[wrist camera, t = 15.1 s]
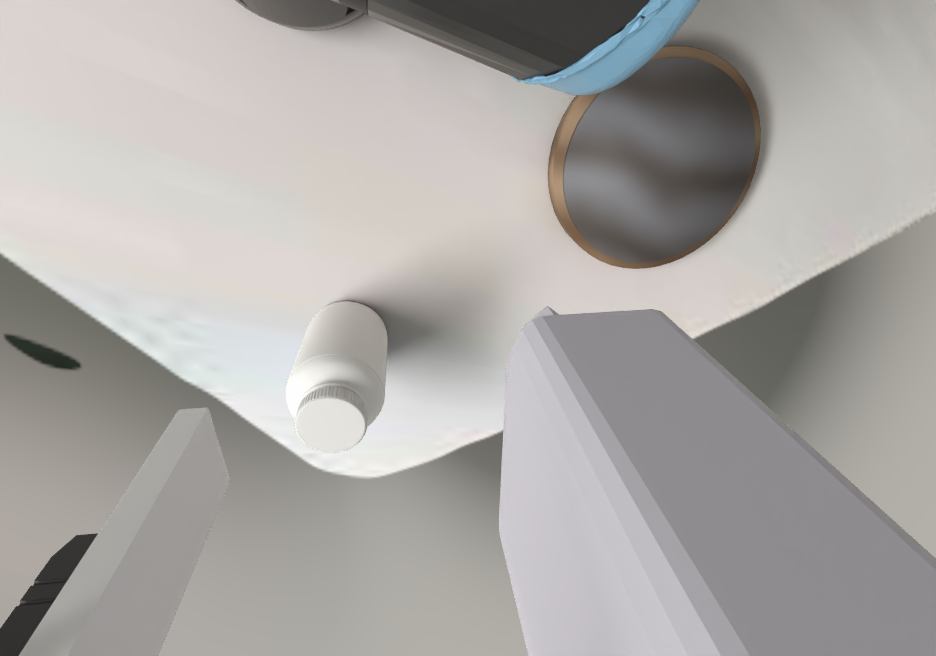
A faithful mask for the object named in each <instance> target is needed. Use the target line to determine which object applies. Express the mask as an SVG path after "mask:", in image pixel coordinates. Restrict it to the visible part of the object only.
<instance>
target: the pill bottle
mask: <svg viewBox="0 0 936 656" xmlns="http://www.w3.org/2000/svg"><path fill="white" fill-rule="evenodd" d="M387 343H388V337H387V331H386V328H385V325H384V323H383V321H382V319H381V318H380V317H379V316H378V314H377V313H376V312H374V311H373V310H372V309H370V308H369V307H367V306H365V305H363V304H360V303H356V302H350V301H342V302H336V303H332V304H330V305H327V306H326V307H324V308H322V309H321V310H320V311H319V312H317V313H316V315H315V316H314V317H313V319H312V320H311V322H310V324H309V326H308V328H307V331H306V334H305V336H304V339H303V342H302V344H301V347H300V350H299V352H298V355H297V357H296V360H295V363H294V365H293V368H292V371H291V373H290V376H289V379H288V382H287V386H286V400H287V404H288V407H289V410H290V412H291V414H292V415H293V417H294V418H295V422H294V424H295V430H296V432H297V435H298V436H299V438H300V439H301V440H302V441H303V442H304V443H305V444H306V445H307V446H309V447H311V448H312V449H315V450H317V451H321V452H327V453H335V452H341V451H345V450H348V449H350V448H352V447H353V446H355V445H356V444H357V443H359V442H360V440H361V439H362V438H363V436H364V435H365V433H366V429H367V427H368V426H369V425H370V424H371V423H372V422H373V421H374V420H375V419H376V417H377V416H378V414H379V413H380V411H381V409H382V406H383V403H384V397H385V381H386V362H387Z"/></svg>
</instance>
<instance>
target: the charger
mask: <svg viewBox="0 0 936 656" xmlns="http://www.w3.org/2000/svg"><path fill="white" fill-rule="evenodd" d="M499 531H500V537H501V541H502V546H503V550H504V554H505V558H506V562H507V567H508V571H509V575H510V579H511V583H512V588H513V592H514V596H515V600H516V605H517V609H518V613H519V617H520V621H521V625H522V630H523V634H524V638H525V643H526V647H527V651H528V655H529V656H936V558H935V557H933V556H932V555H931V554H930V553H929V552H928V551H927V550H926V549H924V548H923V547H922V546H921V545H920V544H919V543H918V542H917V541H916V540H915V539H913V538H912V537H911V536H910V535H909V534H908V533H907V532H906V531H905V530H904V529H902V528H901V527H900V526H899V525H898V524H897V523H896V522H895V521H893V520H892V519H891V518H890V517H889V516H888V515H887V514H886V513H885V512H883V511H882V510H881V509H880V508H879V507H878V506H877V505H875V503H874V502H872V501H871V500H870V499H869V498H868V497H867V496H866V495H865V494H864V493H862V492H861V491H860V490H859V489H858V488H857V487H856V486H855V485H854V484H852V483H851V482H850V481H849V480H848V479H847V478H846V477H845V476H843V475H842V474H841V473H840V472H839V471H838V470H837V469H836V468H835V467H834V466H832V465H831V464H830V463H829V462H828V461H827V460H826V459H825V458H824V457H822V456H821V455H820V454H819V453H818V452H817V451H816V450H815V449H814V448H812V447H811V446H810V445H809V444H808V443H807V442H806V441H805V440H804V439H803V438H801V437H800V436H799V435H798V434H797V433H796V432H795V431H793V429H791V428H790V427H789V426H788V425H787V424H786V423H785V422H784V421H783V420H781V419H780V418H779V417H778V416H777V415H776V414H775V413H774V412H772V411H771V410H770V409H769V408H768V407H767V406H766V405H765V404H764V403H763V402H761V401H760V400H759V399H758V398H757V397H756V396H755V395H754V394H752V393H751V392H750V391H749V390H748V389H747V388H746V387H745V386H744V385H742V384H741V383H740V382H739V381H738V380H737V379H736V378H735V377H734V376H733V375H731V374H730V373H729V372H728V371H727V370H726V369H725V368H724V367H723V366H721V365H720V364H719V363H718V362H717V361H716V360H715V359H714V358H713V357H711V356H710V355H709V354H708V353H707V352H706V351H705V350H704V349H703V348H701V347H700V346H699V345H698V344H697V343H696V342H695V341H694V340H693V339H691V338H690V337H689V336H688V335H687V334H686V333H685V332H684V331H683V330H682V329H680V328H679V327H678V326H677V325H676V324H675V323H674V322H673V321H672V320H670V319H669V318H668V317H667V316H666V315H665V314H664V313H663V312H661V311H658V310H654V309H648V310H632V311H616V312H600V313H583V314H567V315H559V314H557V313H556V312H555V311H554V310H552V309H551V308H550V307H548V306H547V307H546V308H544V309H543V310H542V311H541V312H539V313H538V314H537V315H535V317H534V319H532V320H531V321H530V322H529V323H528V324H525V325H524V327H523V328H522V329H521V331H520V333H519V335H518V336H517V338H516V340H515V341H514V344H513V347H512V350H511V353H510V356H509V359H508V366H507V373H506V390H505V410H504V430H503V451H502V471H501V492H500V512H499Z"/></svg>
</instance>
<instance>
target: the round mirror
mask: <svg viewBox="0 0 936 656" xmlns="http://www.w3.org/2000/svg"><path fill="white" fill-rule="evenodd" d="M759 149H760V121H759V114H758V110H757V106H756V102H755V100H754V97H753V95H752V92H751V90H750V88H749V87H748V85H747V83H746V82H745V80H744V78H743V77H742V76H741V75H740V74H739V73H738V71H737V70H736V69H735V68H734V67H733V66H731V65H730V64H729V63H728V62H727V61H725V60H724V59H722V58H720V57H719V56H717V55H715V54H713V53H711V52H708V51H705V50H702V49H699V48H693V47H687V46H669V47H663V48H662V49H661V50H660V51H659V52H658V53H657V54H656V55H655V56H654V57H652V58H651V59H650V60H649V61H648V62H647V63H646V64H645V65H644V66H643V67H641V68H640V69H639V70H638V71H636V72H635V73H634V74H633V75H631V76H630V77H629V78H627V79H626V80H624V81H623V82H621V83H619V84H618V85H616V86H614V87H612V88H610V89H607V90H605V91H602V92H600V93H596V94H591V95H577V96H576V97H575V98H574V99H573V101H572V102H571V104H570V105H569V107H568V109H567V110H566V112H565V114H564V115H563V117H562V119H561V122H560V124H559V126H558V128H557V130H556V133H555V137H554V140H553V143H552V146H551V151H550V157H549V165H548V187H549V193H550V198H551V202H552V205H553V208H554V211H555V214H556V216H557V218H558V220H559V222H560V224H561V225H562V227H563V228H564V230H565V231H566V233H567V234H568V235H569V236H570V237H571V238H572V239H573V240H574V241H575V242H576V243H577V244H578V245H579V246H580V247H581V248H582V249H583V250H585V251H586V252H587V253H588V254H590V255H591V256H593V257H595V258H596V259H598V260H600V261H602V262H605V263H607V264H610V265H613V266H618V267H622V268H633V269H637V268H650V267H656V266H660V265H664V264H667V263H671V262H673V261H675V260H678V259H680V258H682V257H684V256H686V255H688V254H690V253H691V252H693V251H695V250H696V249H698V248H699V247H701V246H702V245H704V244H705V243H706V242H707V241H709V240H710V239H711V238H712V237H713V236H714V235H716V234H717V233H718V231H719V230H720V229H721V228H722V227H723V226H724V225H725V224H726V223H727V222H728V220H729V219H730V218H731V217H732V215H733V214H734V213H735V211H736V210H737V208H738V206H739V205H740V203H741V202H742V200H743V198H744V196H745V194H746V192H747V190H748V188H749V186H750V183H751V181H752V178H753V176H754V173H755V169H756V165H757V161H758V156H759Z"/></svg>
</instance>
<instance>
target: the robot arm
mask: <svg viewBox="0 0 936 656" xmlns="http://www.w3.org/2000/svg"><path fill="white" fill-rule="evenodd" d="M236 1H237V2H238V3H240V4H241V5H242V6H244V7H245V8H247V9H248V10H250V11H251V12H253V13H255V14H257V15H259V16H260V17H263V18H265V19H267V20H269V21H272V22H274V23H277V24H280V25H282V26H286V27H289V28H294V29H300V30H325V29H331V28H335V27H338V26H342V25H344V24H346V23H349V22H351V21H353V20H354V19H356V18H358V17H359V16H361V15H362V14H364V13H365V14H367V15H368V16H370V17H372V18H375V19H377V20H379V21H382V22H384V23H387V24H389V25H391V26H394V27H396V28H399V29H401V30H403V31H406V32H408V33H410V34H413V35H415V36H418V37H420V38H422V39H425V40H427V41H430V42H432V43H434V44H437V45H439V46H442V47H444V48H446V49H449V50H451V51H453V52H456V53H458V54H461V55H463V56H465V57H468V58H470V59H473V60H475V61H477V62H480V63H482V64H485V65H487V66H489V67H492V68H494V69H496V70H499V71H501V72H504V73H506V74H508V75H510V76H511V77H512V78H513V79H515V80H517V81H519V82H520V81H522V82H524V83H526V84H533V85H538V84H539V85H543V86H546V87H549V88H552V89H555V90H558V91H561V92H564V93H567V94H571V95H591V94H596V93H600V92H602V91H605V90H607V89H610V88H612V87H614V86H616V85H618V84H619V83H621V82H623V81H624V80H626V79H627V78H629V77H630V76H631V75H633V74H634V73H635V72H636V71H638V70H639V69H640V68H641V67H643V66H644V65H645V64H646V63H647V62H648V61H649V60H650V59H651V58H652V57H654V56H655V55H656V54H657V53H658V52H659V51H660V50H661V49H662V48H663V46H664V45H665V44H666V43H667V42H668V41H669V40H670V39H671V38H672V36H673V35H674V34H675V33H676V32H677V31H678V29H679V28H680V27H681V26H682V24H683V23H684V22H685V21H686V19H687V18H688V16H689V15H690V14H691V12H692V11H693V10H694V8H695V7H696V5H697V4H698V2H699V1H700V0H236ZM229 483H230V478H229V475H228V472H227V469H226V465H225V462H224V458H223V455H222V452H221V449H220V445H219V442H218V439H217V435H216V433H215V429H214V425H213V422H212V419H211V415H210V412H209V409H208V408H197V409H180V410H178V412H177V413H176V415H175V416H174V418H173V419H172V421H171V422H170V424H169V426H168V427H167V429H166V430H165V432H164V433H163V435H162V436H161V438H160V439H159V441H158V442H157V444H156V445H155V447H154V448H153V450H152V452H151V453H150V455H149V456H148V458H147V459H146V461H145V462H144V464H143V465H142V467H141V469H140V470H139V472H138V473H137V475H136V476H135V478H134V479H133V481H132V482H131V484H130V485H129V487H128V488H127V490H126V492H125V493H124V495H123V496H122V498H121V499H120V501H119V502H118V504H117V506H116V507H115V508H114V510H113V512H112V513H111V515H110V516H109V518H108V519H107V521H106V522H105V524H104V526H103V527H102V529H101V530H100V531H99V533H98V534H88V535H77V536H75V537H74V538H73V539H72V540H71V541H70V542H68V543H67V544H66V545H65V546H64V547H62V548H61V549H60V550H59V551H58V552H57V553H56V554H54V555H53V556H52V557H51V558H50V560H49V561H48V563H47V564H46V565H45V567H44V569H43V570H42V571H41V572H40V574H39V575H38V577H37V578H36V579H35V583H34V585H33V586H30V588H29V589H28V591H27V592H26V593H25V595H24V596H23V598H22V599H21V601H20V605H19V606H17V607H15V609H14V610H13V612H12V613H11V615H10V616H9V617H8V619H7V620H6V621H5V623H4V624H3V626H2V627H1V628H0V656H158V655H159V652H160V650H161V648H162V645H163V643H164V640H165V638H166V636H167V633H168V631H169V628H170V626H171V624H172V621H173V619H174V616H175V614H176V611H177V609H178V607H179V604H180V602H181V599H182V597H183V595H184V592H185V590H186V587H187V585H188V582H189V580H190V578H191V575H192V573H193V570H194V567H195V565H196V563H197V561H198V558H199V556H200V553H201V551H202V549H203V546H204V544H205V541H206V539H207V536H208V534H209V532H210V529H211V527H212V524H213V522H214V519H215V517H216V515H217V512H218V510H219V507H220V505H221V503H222V500H223V498H224V495H225V493H226V491H227V488H228V486H229Z"/></svg>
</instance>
